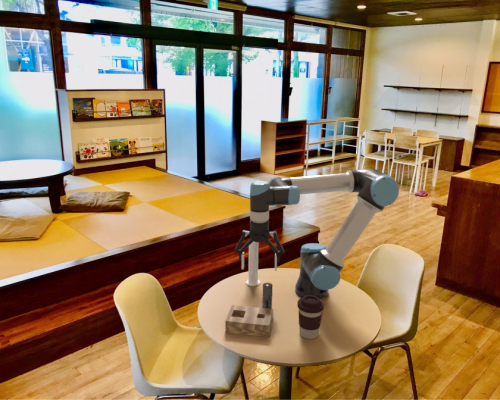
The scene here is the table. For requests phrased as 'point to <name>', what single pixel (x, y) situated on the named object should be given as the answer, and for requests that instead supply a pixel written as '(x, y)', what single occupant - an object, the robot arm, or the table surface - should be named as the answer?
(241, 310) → the oak block
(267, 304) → the steel pin
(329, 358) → the table surface
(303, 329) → the coffee cup
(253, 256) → the candle
